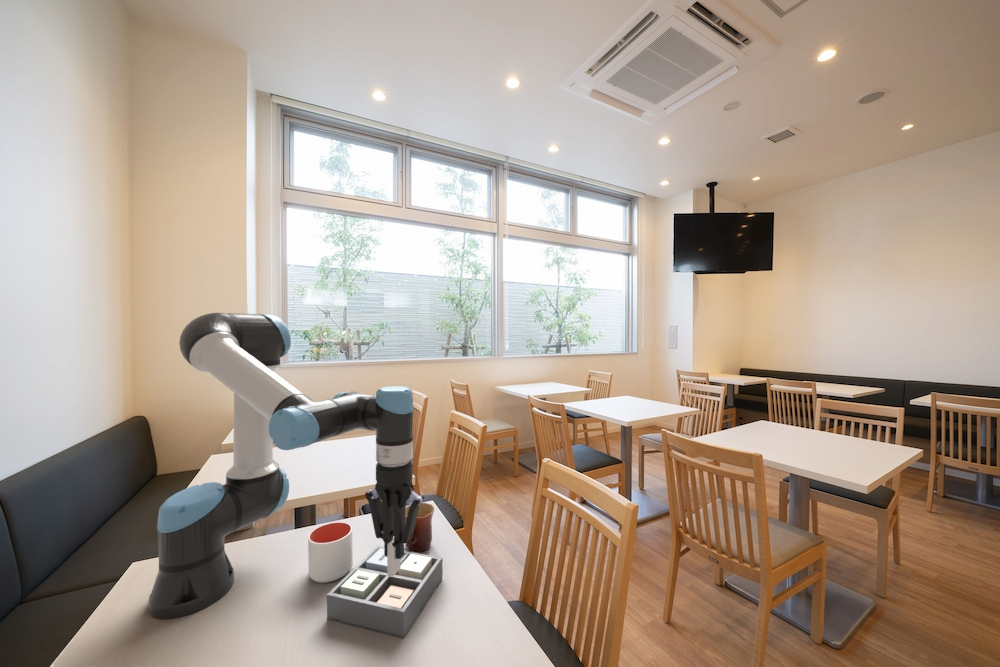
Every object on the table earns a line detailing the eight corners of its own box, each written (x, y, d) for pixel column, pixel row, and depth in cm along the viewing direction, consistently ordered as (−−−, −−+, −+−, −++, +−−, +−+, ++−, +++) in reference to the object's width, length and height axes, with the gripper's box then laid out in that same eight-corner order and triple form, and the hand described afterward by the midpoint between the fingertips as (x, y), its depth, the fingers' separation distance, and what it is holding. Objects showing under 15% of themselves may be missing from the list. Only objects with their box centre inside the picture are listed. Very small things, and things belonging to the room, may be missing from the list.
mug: (410, 536, 109) (410, 501, 109) (439, 539, 107) (438, 504, 107) (390, 561, 97) (390, 522, 97) (422, 565, 95) (421, 525, 95)
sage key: (340, 602, 79) (340, 585, 79) (357, 584, 85) (357, 569, 84) (363, 607, 78) (363, 590, 78) (379, 589, 83) (379, 573, 83)
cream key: (398, 582, 85) (398, 567, 85) (410, 567, 90) (410, 553, 90) (420, 587, 84) (420, 571, 83) (431, 571, 89) (431, 557, 89)
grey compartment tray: (327, 619, 78) (326, 594, 78) (377, 566, 95) (377, 545, 95) (403, 638, 73) (403, 612, 73) (442, 578, 90) (442, 557, 90)
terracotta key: (376, 619, 77) (376, 602, 77) (391, 600, 82) (391, 584, 82) (400, 625, 75) (400, 608, 75) (413, 605, 81) (413, 589, 81)
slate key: (365, 576, 87) (365, 561, 87) (379, 561, 93) (379, 547, 93) (386, 580, 86) (386, 565, 86) (399, 565, 91) (399, 551, 91)
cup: (352, 579, 90) (352, 538, 90) (306, 590, 87) (305, 547, 86) (352, 555, 100) (352, 518, 99) (310, 564, 96) (310, 526, 96)
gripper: (356, 463, 76) (356, 577, 77) (413, 471, 73) (412, 589, 73) (378, 451, 84) (377, 555, 84) (430, 458, 80) (430, 566, 81)
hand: (394, 571), depth 79 cm, fingers closed
